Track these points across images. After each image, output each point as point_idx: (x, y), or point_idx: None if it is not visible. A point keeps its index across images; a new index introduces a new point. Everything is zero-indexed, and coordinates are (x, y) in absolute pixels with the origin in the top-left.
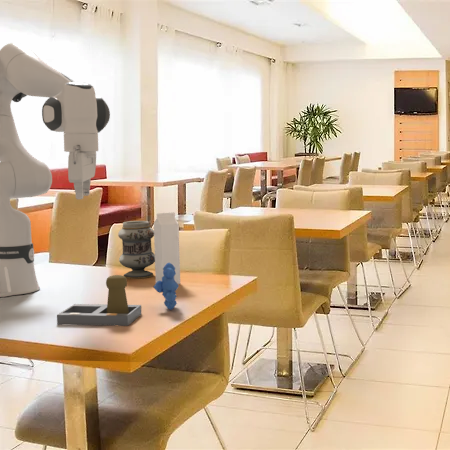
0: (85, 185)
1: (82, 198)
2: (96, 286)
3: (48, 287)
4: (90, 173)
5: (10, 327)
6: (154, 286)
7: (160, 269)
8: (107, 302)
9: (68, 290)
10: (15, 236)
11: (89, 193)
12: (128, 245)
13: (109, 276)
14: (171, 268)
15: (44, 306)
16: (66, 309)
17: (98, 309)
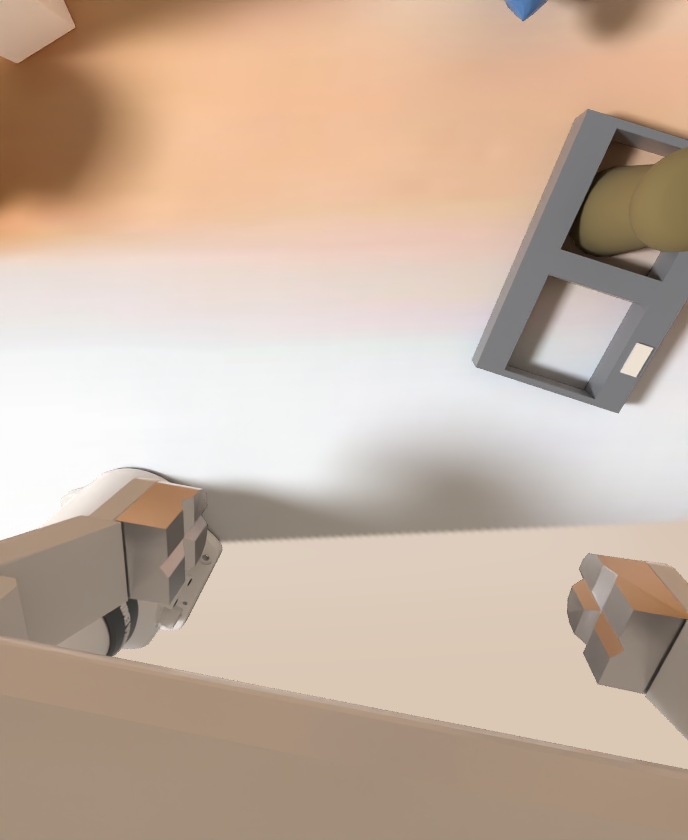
0: (65, 599)
1: (650, 562)
2: (87, 304)
3: (100, 445)
4: (89, 823)
5: (584, 513)
6: (530, 12)
7: (6, 2)
8: (627, 249)
9: (144, 389)
10: (74, 646)
11: (144, 483)
12: None
13: (681, 234)
14: None
15: (354, 445)
16: (550, 388)
17: (597, 283)
